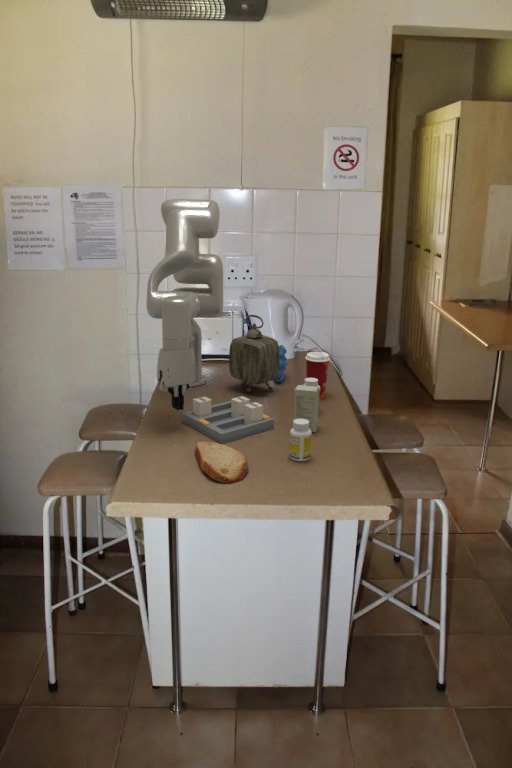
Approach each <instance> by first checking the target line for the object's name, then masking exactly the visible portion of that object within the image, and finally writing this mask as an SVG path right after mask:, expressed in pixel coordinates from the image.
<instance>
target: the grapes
mask: <svg viewBox="0 0 512 768" xmlns="http://www.w3.org/2000/svg"><path fill="white" fill-rule="evenodd" d="M287 352H288V351H287V349H286V347H285V346H284V345H283V344H281V345H279V354H280V363H279V371H278V375H277V377H276V378H275V379H274V380H276V382H277V383H280V382H282V381H283V380H284V379H285V377H286V375H285V373H284V372H285V370H287V365H288V362H287V357H286V354H287Z"/></svg>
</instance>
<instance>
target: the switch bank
mask: <svg viewBox="0 0 512 768" xmlns="http://www.w3.org/2000/svg"><path fill="white" fill-rule="evenodd" d="M181 418H182V419H181V422H182V423H184V424H185V425H187V426H188V427H190V428H192V429H194V430H196V431H198V432H200V433H202V434H203V435H205V436H207V437H209V438H210V439H212V440H213V441H216V442H217V443H219V444H222V445H223V444H225V443H229V442H231V441H236V440H239V439H242V437H243V438H245V437H249V436H252V435H255V434H259V433H262V432H266V431H269V430H273V429H274V428H275V419H274V418H272V417H270V416H268V415H267V414H265V413H263V420H261V421H258V422H254V423H251V424H247V425H246V424H244V415H243V416H239V417H235V418H232V417H231V400H229V401H225V402H220V403H218V404H213V405H212V414H210V415H206V416H202V417H198V416H196V415H194V414H193V409H192V410H189V411H184V412H182V413H181Z"/></svg>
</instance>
